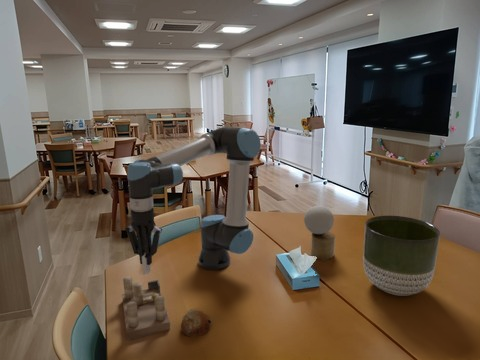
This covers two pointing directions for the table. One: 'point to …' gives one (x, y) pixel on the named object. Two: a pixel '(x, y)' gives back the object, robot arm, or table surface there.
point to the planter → (400, 253)
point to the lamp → (320, 231)
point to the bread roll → (195, 323)
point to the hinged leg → (139, 295)
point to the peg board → (144, 311)
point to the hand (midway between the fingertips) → (146, 272)
